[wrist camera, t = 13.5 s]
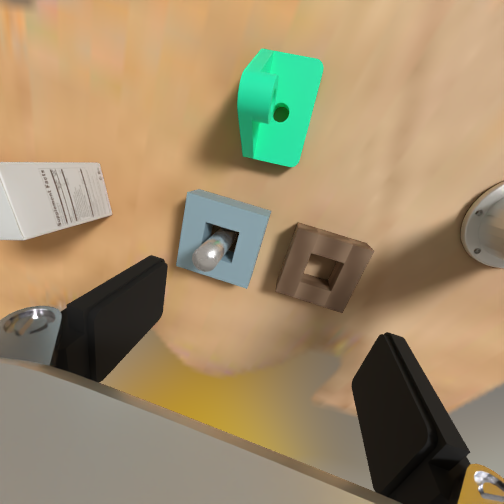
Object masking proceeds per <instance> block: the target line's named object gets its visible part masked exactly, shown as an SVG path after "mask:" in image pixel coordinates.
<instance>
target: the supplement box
mask: <svg viewBox="0 0 504 504" xmlns="http://www.w3.org/2000/svg"><path fill="white" fill-rule="evenodd" d="M110 215H112V211H111V207H110V203H109V199H108V194H107V190H106V186H105V182H104V178H103V174H102V171H101V166H100V163H81V162H0V240H28V239H31V238H34V237H38V236H41V235H44V234H48V233H51V232H55V231H58V230H62V229H65V228H69V227H72V226H76V225H79V224H83V223H86V222H90V221H93V220H97V219H100V218H104V217H107V216H110Z"/></svg>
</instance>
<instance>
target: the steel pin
mask: <svg viewBox="0 0 504 504" xmlns="http://www.w3.org/2000/svg"><path fill="white" fill-rule="evenodd" d="M235 240H236V232H235V231H233V230H230V229H227V228H224V227H221V228H220V229H219V230H218V231H217V232H215V233H214V234H213V235H212V236H211V237H210V238H209V239H208V240H207V241H205V242H204V243H203V244H202V245H201V246H200V247H199V248H198V249H197V250H195V251H194V253H193V255H192V262H193V264H194V266H195V267H196V268H197V269H198V270H200V271H203V272H209V271H212V270H213V269H214V268H215V267H216V265H217V264H218V263H219V261H220V260H221V259H222V257H223V256H224V255H225V253H226V252H227V251H228V249H229V248H230V247H231V245H232V244H233V243H234V241H235Z"/></svg>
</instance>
